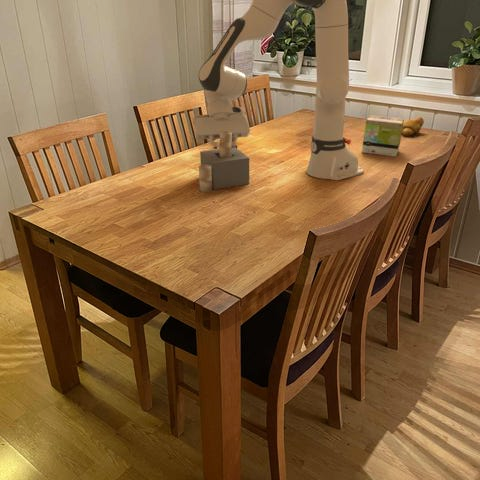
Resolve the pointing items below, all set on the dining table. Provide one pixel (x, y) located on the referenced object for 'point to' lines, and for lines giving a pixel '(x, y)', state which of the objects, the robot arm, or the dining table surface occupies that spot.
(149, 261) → the dining table surface
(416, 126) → the golden brown lumpy piece
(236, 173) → the hole block
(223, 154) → the tall pin
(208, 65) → the robot arm
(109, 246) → the dining table surface
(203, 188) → the short pin
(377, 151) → the tea box
